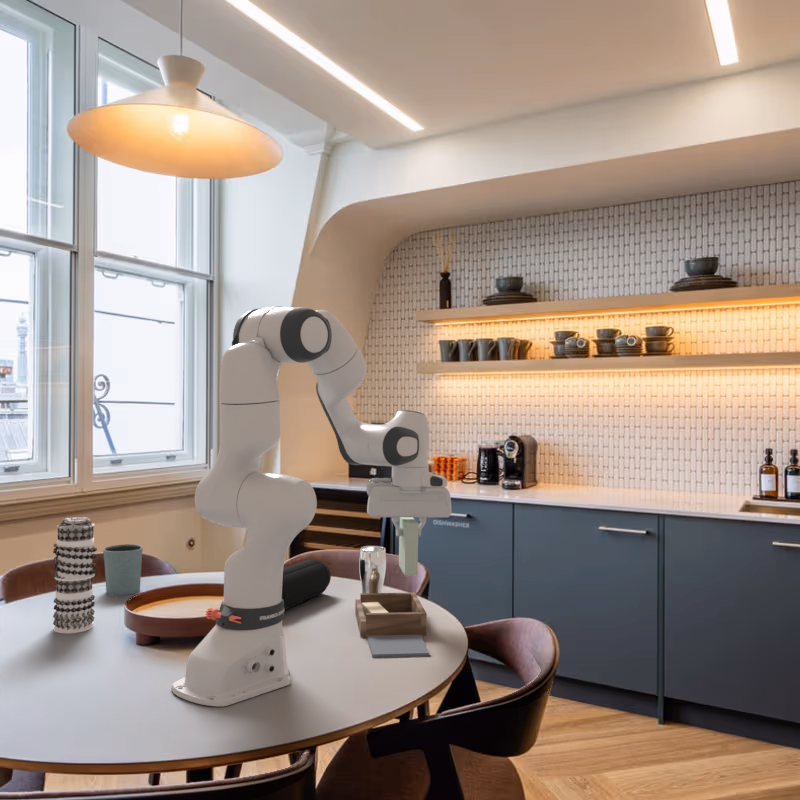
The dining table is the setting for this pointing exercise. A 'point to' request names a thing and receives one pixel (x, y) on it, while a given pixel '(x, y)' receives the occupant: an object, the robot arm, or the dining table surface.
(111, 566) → the green cup
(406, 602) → the open wooden box
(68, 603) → the decorative candle
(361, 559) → the beer glass
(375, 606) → the offcut top
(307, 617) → the dining table surface
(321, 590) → the portable speaker
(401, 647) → the slate mat
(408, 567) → the sage panel
